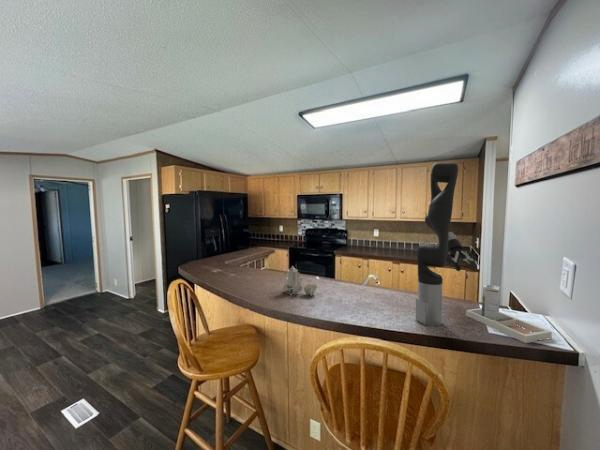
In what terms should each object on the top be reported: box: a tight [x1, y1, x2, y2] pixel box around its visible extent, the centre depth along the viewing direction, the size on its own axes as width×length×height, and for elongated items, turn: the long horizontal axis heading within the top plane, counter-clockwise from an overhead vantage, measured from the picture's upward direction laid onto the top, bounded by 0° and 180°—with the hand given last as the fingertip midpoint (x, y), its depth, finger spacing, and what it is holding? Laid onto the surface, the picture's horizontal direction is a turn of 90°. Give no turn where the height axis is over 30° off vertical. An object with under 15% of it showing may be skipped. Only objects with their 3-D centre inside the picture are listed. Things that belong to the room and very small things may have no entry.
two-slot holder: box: [465, 307, 553, 344], centre depth 103 cm, size 12×24×3 cm, turn 13°
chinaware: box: [283, 265, 318, 297], centre depth 150 cm, size 28×17×17 cm, turn 35°
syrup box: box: [481, 284, 501, 320], centre depth 109 cm, size 6×6×14 cm
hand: (467, 269), depth 120 cm, fingers open, 8 cm apart
